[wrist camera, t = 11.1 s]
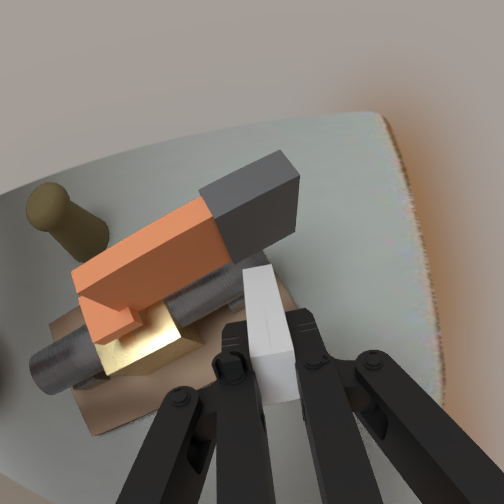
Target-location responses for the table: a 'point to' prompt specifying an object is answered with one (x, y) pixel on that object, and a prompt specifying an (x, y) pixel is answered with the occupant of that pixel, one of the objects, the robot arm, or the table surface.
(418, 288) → the table surface
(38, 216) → the cork
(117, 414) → the mounting board
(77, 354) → the valve body
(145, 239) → the valve lever
